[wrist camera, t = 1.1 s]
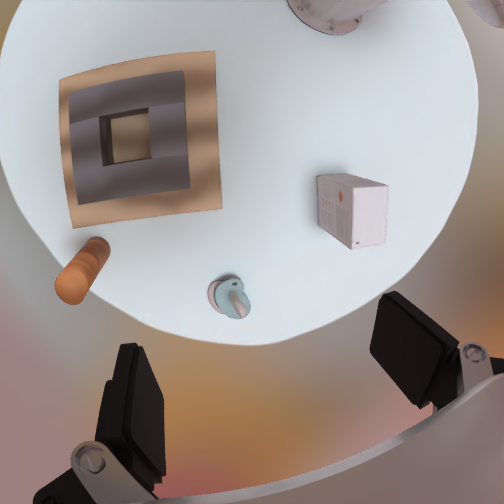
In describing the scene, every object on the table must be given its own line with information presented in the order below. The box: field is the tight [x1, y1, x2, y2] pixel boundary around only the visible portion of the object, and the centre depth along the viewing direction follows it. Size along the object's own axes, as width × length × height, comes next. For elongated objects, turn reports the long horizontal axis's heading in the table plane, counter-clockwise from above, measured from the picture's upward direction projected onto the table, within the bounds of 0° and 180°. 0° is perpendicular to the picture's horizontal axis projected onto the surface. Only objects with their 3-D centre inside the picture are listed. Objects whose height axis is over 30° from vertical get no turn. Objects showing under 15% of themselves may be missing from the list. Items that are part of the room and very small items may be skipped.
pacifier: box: [208, 278, 251, 319], centre depth 41 cm, size 7×6×6 cm
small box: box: [317, 174, 388, 250], centre depth 36 cm, size 8×6×10 cm
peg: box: [55, 237, 110, 305], centre depth 31 cm, size 4×4×12 cm
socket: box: [59, 51, 222, 229], centre depth 29 cm, size 22×22×6 cm
